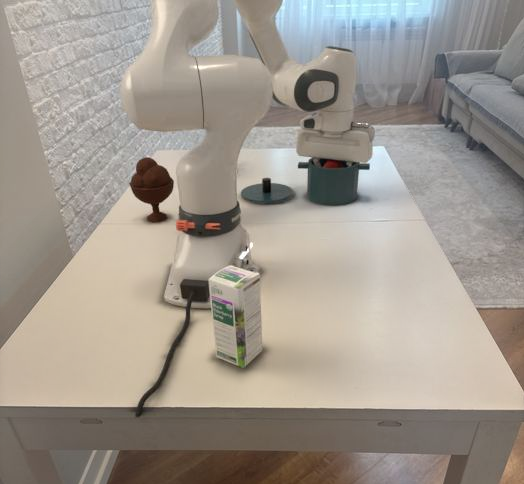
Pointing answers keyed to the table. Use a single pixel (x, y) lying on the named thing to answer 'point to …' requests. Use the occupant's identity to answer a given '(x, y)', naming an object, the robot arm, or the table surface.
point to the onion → (333, 164)
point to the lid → (266, 192)
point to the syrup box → (236, 314)
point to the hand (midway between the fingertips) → (332, 175)
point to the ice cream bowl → (152, 186)
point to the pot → (332, 182)
